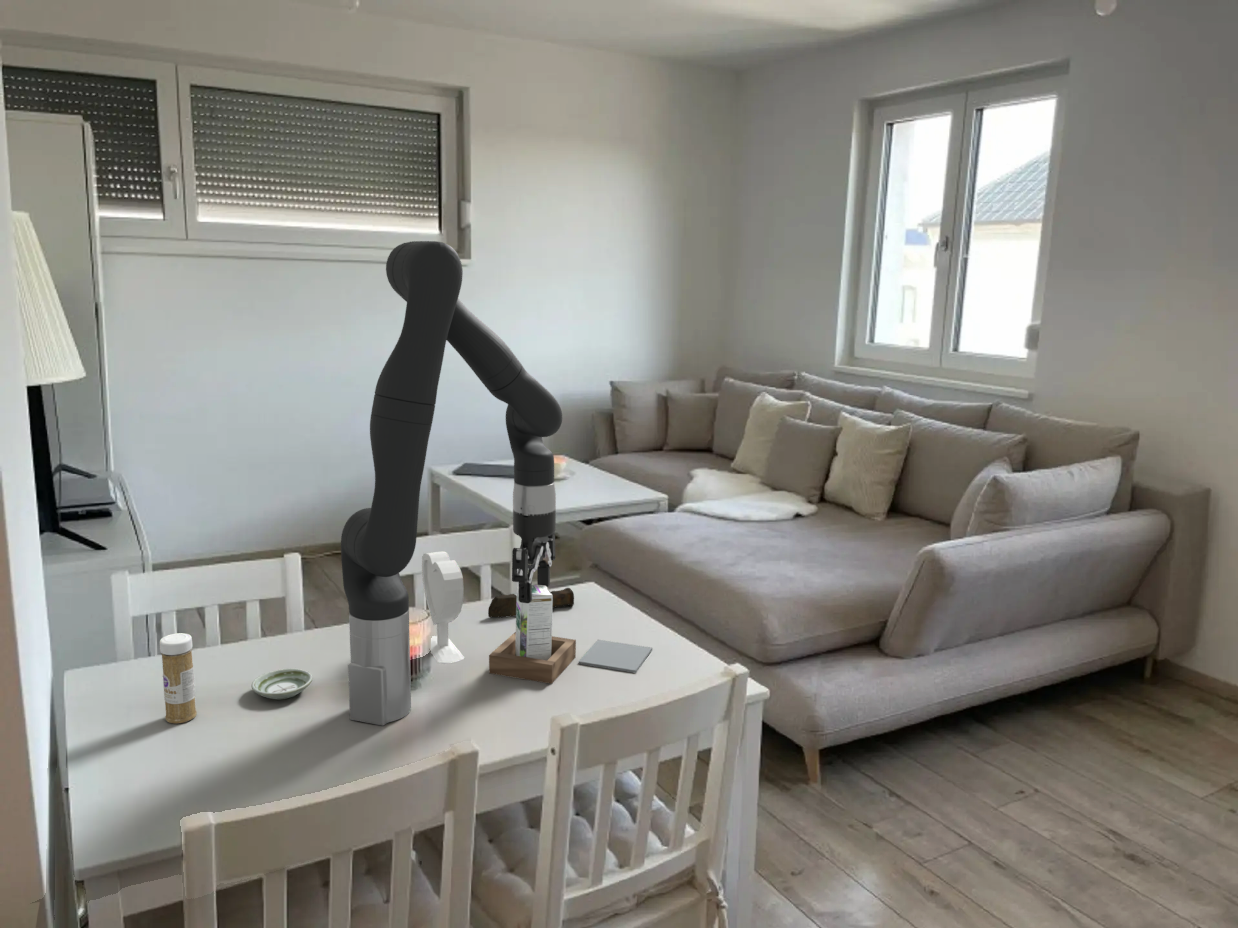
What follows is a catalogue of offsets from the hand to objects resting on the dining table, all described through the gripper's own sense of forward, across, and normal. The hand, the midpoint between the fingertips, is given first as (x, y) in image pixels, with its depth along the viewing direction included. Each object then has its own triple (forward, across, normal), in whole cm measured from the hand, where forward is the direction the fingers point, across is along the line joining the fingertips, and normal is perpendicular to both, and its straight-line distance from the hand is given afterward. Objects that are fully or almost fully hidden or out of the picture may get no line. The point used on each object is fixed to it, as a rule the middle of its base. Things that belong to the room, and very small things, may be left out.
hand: (534, 594), depth 165 cm
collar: (+14, 0, 0) cm, 14 cm away
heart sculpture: (+14, 0, -19) cm, 23 cm away
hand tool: (+14, -24, -11) cm, 30 cm away
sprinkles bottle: (+13, +38, -44) cm, 60 cm away
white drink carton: (+14, 0, 0) cm, 14 cm away
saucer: (+14, +25, -35) cm, 45 cm away
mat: (+14, -9, +13) cm, 21 cm away
